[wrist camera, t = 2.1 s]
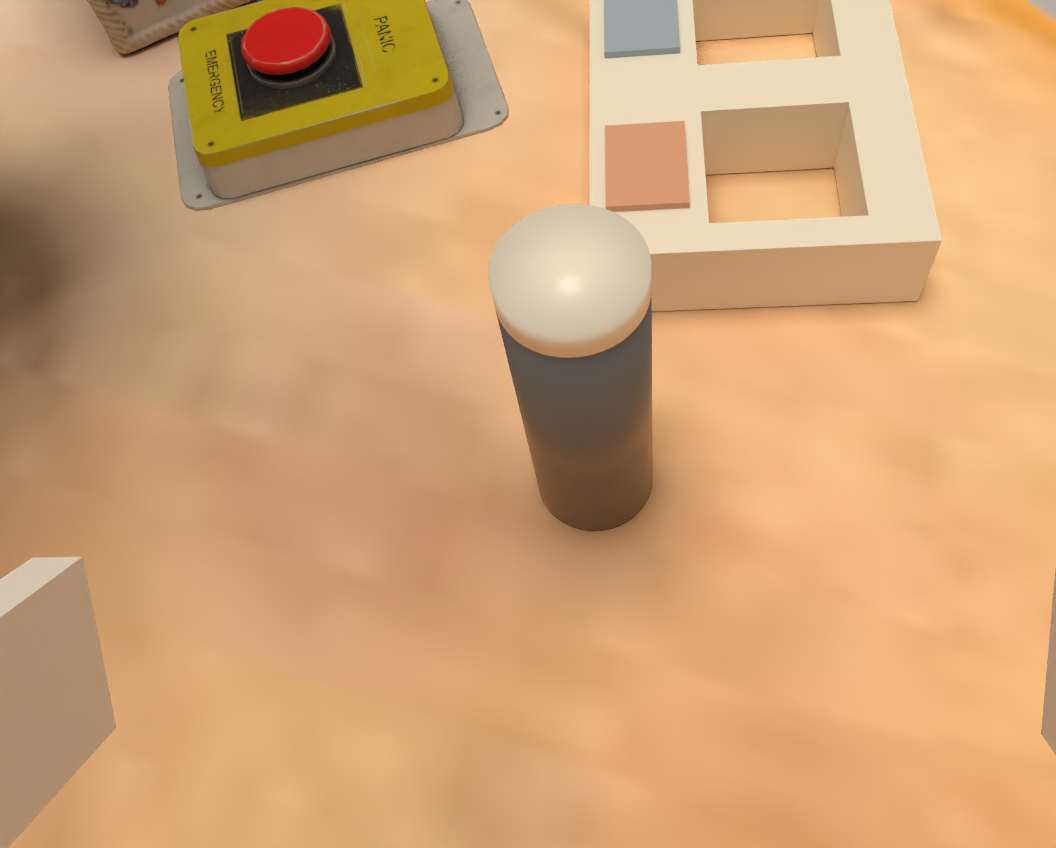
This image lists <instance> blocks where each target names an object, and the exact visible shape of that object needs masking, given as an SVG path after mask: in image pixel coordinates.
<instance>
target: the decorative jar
mask: <svg viewBox="0 0 1056 848" xmlns="http://www.w3.org/2000/svg"><path fill="white" fill-rule="evenodd" d="M250 1H252V0H88V2H89V3H90V5H91V6H92V8H93V10H94V12H95V13H96V15H97V17H98V18H99V20H100V21H101V23H102V24H103V26H104V28H105V30H106V32H107V34H108V36H109V38H110V40H111V42H112V44H113V46H114V47H115V49H116V50H117V51H118V52H120V53H123V54H128V53H131V52H134V51H136V50H138V49H141V48H143V47H146V46H148V45H150V44H152V43H154V42H156V41H158V40H160V39H163V38H165V37H168V36H170V35H172V34H175V33H177V32H179V31H180V29H181V28H182V27H183V26H184V25H185V24H186V23H188V22H190V21H192V20H194V19H198V18H201V17H205V16H209V15H212V14H216V13H220V12H223V11H227V10H231V9H233V8H236V7H238V6H240V5H243V4H245V3H248V2H250Z"/></svg>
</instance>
